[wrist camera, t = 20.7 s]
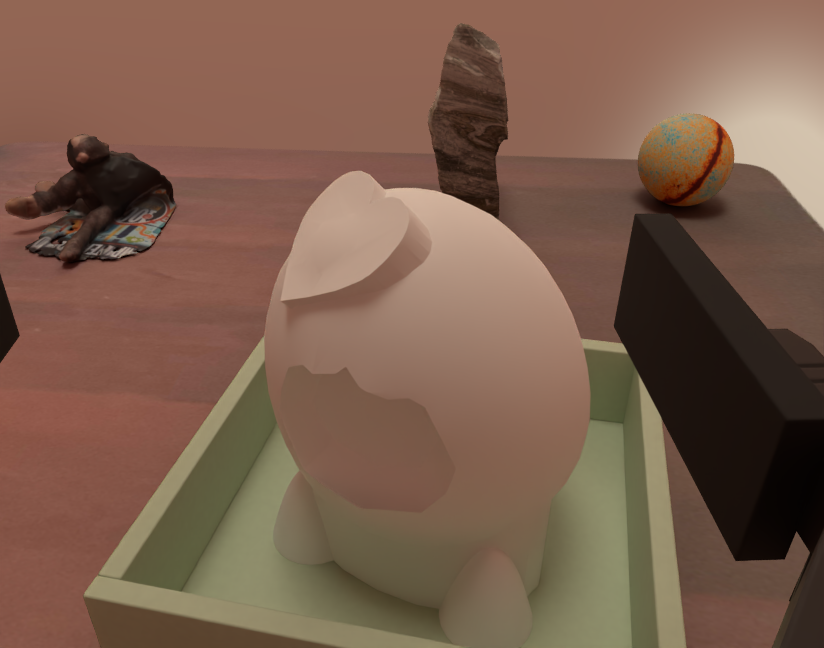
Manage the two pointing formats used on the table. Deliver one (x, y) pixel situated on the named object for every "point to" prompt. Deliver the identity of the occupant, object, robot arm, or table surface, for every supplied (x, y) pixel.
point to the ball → (685, 159)
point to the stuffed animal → (99, 204)
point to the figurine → (424, 402)
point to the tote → (354, 599)
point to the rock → (470, 119)
